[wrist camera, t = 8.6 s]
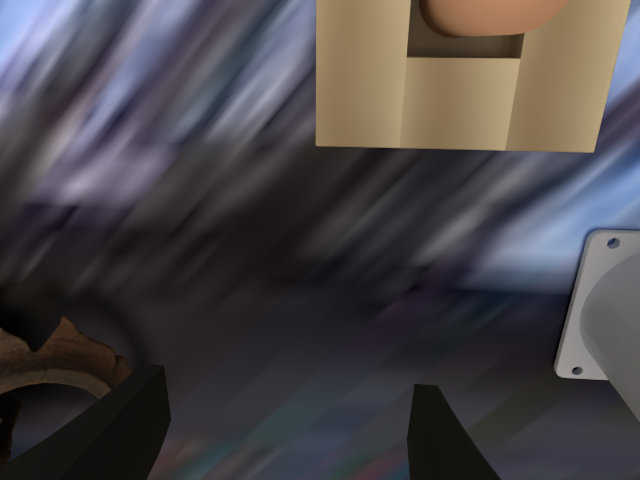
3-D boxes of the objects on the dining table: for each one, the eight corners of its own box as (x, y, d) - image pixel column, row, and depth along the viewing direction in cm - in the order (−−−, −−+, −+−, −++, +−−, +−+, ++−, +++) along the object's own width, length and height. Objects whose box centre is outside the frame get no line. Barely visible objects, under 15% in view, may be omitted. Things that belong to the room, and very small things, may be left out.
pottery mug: (-2, 232, 24) (-27, 328, 17) (158, 297, 30) (183, 387, 23) (-121, 403, 25) (-186, 552, 19) (54, 434, 31) (51, 555, 24)
